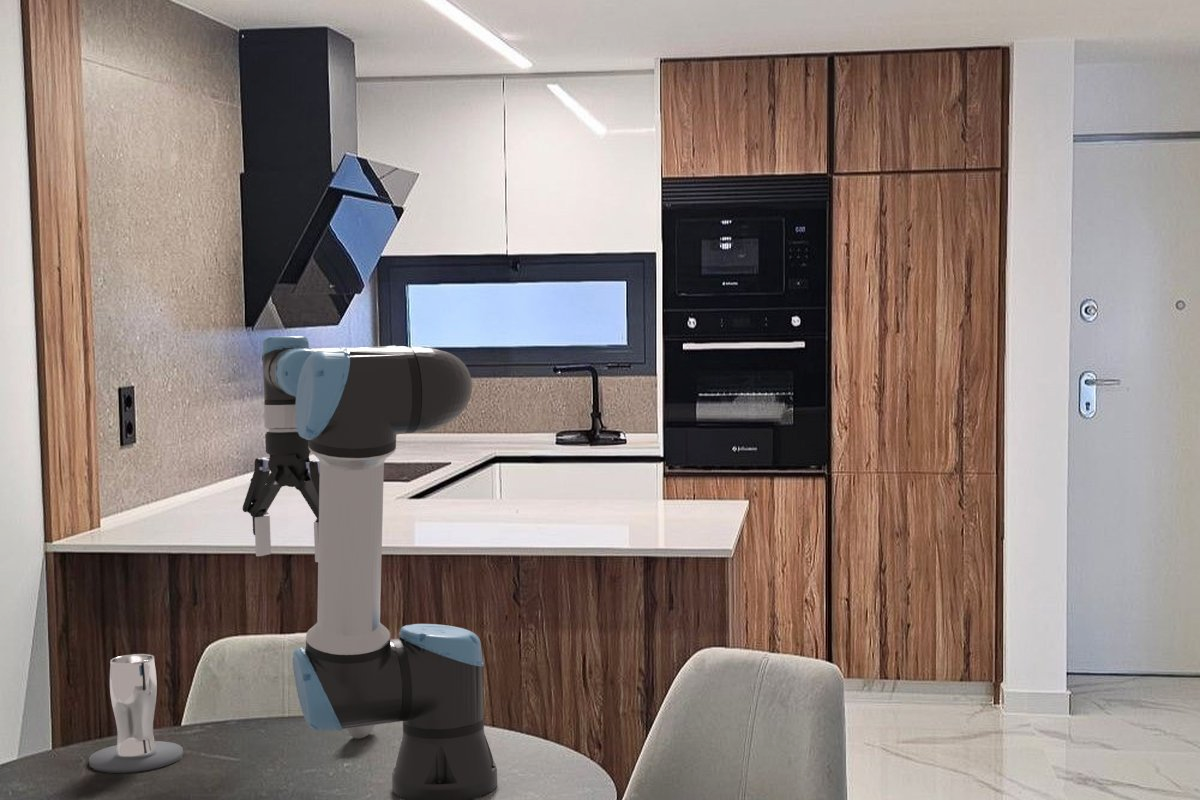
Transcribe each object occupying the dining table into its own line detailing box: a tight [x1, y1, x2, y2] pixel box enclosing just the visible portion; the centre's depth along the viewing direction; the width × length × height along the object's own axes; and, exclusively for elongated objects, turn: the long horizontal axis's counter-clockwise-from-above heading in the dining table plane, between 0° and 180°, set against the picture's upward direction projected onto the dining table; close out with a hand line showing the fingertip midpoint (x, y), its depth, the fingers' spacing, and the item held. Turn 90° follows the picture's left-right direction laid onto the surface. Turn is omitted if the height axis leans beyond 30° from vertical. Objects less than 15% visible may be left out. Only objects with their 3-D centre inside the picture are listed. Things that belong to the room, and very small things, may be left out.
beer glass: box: [109, 653, 158, 759], centre depth 228 cm, size 7×7×15 cm
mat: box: [88, 740, 184, 774], centre depth 228 cm, size 14×14×1 cm
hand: (292, 558), depth 241 cm, fingers open, 13 cm apart
